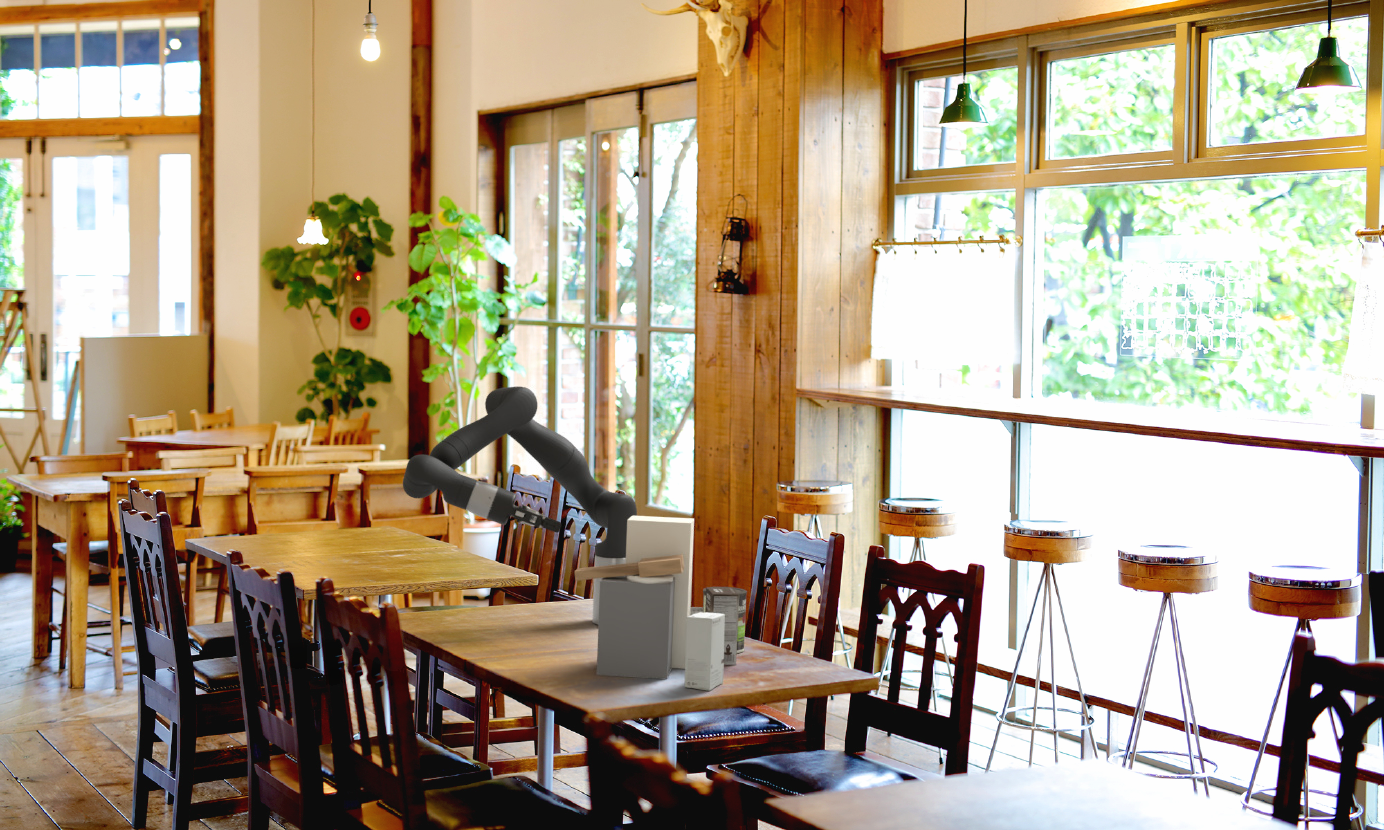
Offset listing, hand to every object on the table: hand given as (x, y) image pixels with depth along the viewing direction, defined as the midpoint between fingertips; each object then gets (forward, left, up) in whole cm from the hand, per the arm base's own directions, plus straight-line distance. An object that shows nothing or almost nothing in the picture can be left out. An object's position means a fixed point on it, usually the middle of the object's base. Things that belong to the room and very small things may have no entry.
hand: (559, 527), depth 291 cm
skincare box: (+18, +35, -29) cm, 49 cm away
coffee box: (-6, +37, -29) cm, 47 cm away
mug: (-30, +31, -29) cm, 52 cm away
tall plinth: (-1, +23, -29) cm, 37 cm away
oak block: (+9, +17, -8) cm, 21 cm away
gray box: (+9, +19, -29) cm, 36 cm away
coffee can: (-18, +37, -29) cm, 50 cm away
